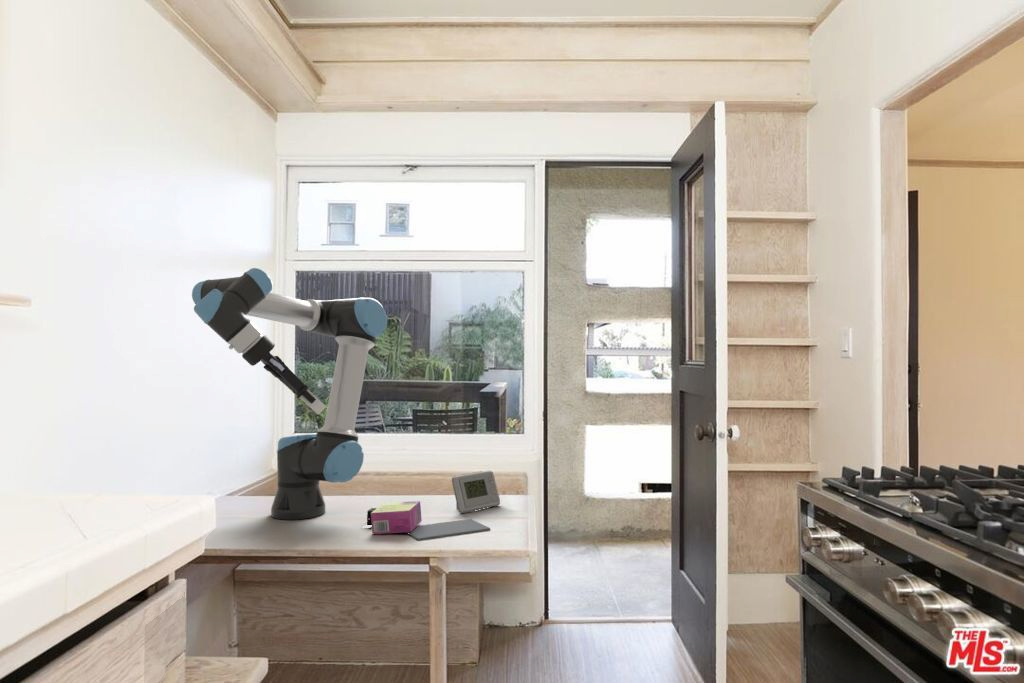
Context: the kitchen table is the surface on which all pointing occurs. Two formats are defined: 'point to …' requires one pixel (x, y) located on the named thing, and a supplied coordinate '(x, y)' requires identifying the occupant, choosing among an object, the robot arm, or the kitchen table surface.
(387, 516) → the box
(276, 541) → the kitchen table surface
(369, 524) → the black slotted mount bracket
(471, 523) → the mat
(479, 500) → the digital clock
